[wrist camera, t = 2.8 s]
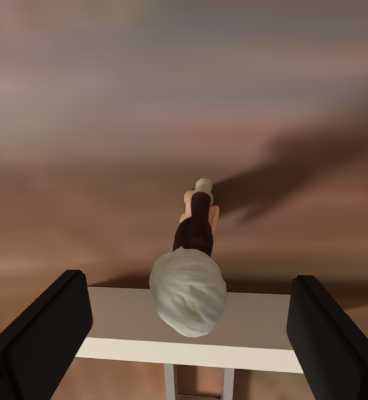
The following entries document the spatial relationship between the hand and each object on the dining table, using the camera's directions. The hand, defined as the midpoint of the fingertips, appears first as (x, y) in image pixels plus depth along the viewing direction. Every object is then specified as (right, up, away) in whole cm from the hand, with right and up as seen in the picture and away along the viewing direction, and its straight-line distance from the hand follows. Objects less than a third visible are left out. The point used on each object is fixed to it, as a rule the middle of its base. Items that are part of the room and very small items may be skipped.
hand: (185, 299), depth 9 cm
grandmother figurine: (+1, +4, +10) cm, 11 cm away
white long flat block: (+2, -7, +13) cm, 15 cm away
